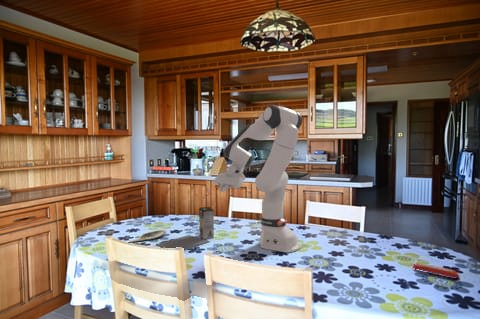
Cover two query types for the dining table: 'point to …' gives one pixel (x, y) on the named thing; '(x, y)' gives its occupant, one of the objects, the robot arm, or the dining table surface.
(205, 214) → the coffee box
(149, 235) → the spoon
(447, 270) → the sausage
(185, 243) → the rubber mat
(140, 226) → the dining table surface
